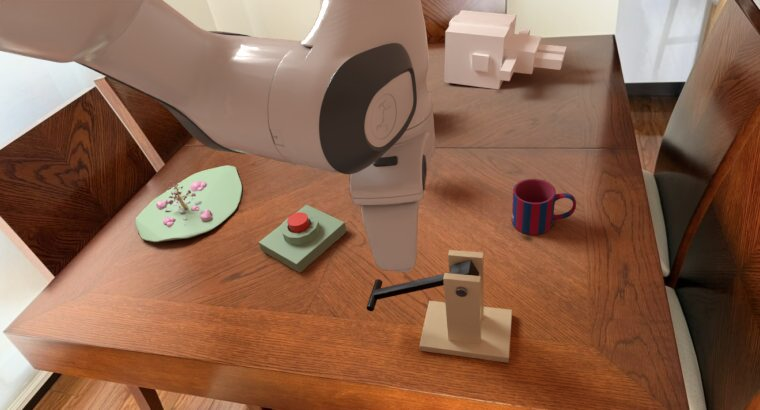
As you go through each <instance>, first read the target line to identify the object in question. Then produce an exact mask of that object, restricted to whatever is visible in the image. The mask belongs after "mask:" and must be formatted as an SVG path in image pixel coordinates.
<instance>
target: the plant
mask: <svg viewBox="0 0 760 410" xmlns="http://www.w3.org/2000/svg"><path fill="white" fill-rule="evenodd" d="M169 183H170V184H173V186H170V185H168V189H167V190H166V191H164V192H163V193H162V194H159V195H158V196H157V197H155V198H154V199H153V200H151V201H150V203H148V204H147V205H146V206H145V207H144V208H143V209H142V210H141V211H140V212H139V214H138V215H137V216H136V217H135V222H134V223H135V224H134V225H135V228H136V230H137V232H138V234H139V236H140V238H141V239H142V240H143V241H145V242H146V241H147V242H151V243H152V242H153V243H161V242H168V241H176V240H183V239H190V238H195V237H198V236H201V235H203V234H205V233H206V234H207V233H209V232H210V231H212V230H214V229H216V228H218V227H219V226H220V225H222V223H224V222H226V220H228V219H229V218H230V217H231V216H232V215H233V214H234V213H235V211H237V209H238V206H239V204H240V202H241V198H242V195H243V194H242V193H243V185H242V181H241V178H240V176H239V173H238V170H237V167H236V166H233V165H227V164H226V165H222V166H217V167H213V168H209V169H208V168H207V169H205V170H201V171H198V172H196V173H193V174H190V175H189V176H188V177H186V178H184V179H183V180H181V181H179V182H178V183H177V184H175V183H173V180H170V181H169Z"/></svg>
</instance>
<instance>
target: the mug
mask: <svg viewBox="0 0 760 410" xmlns="http://www.w3.org/2000/svg"><path fill="white" fill-rule="evenodd" d="M561 199H568V200H571V202H572V205H571V206H572V207H571V208H570V210H568V211H566V212H563V213H560V214H559V213H558V214H555V206H556V202H557V201H558V200H561ZM576 208H577V201H576V198H575V196H574V195H573V194H571V193H565V192H564V193H563V192H562V193H557V191H556V187H554V185H553V184H552V183H551V182H549V181H546V180H544V179H540V178H527V179H523V180H521V181H518V182H517V183H515V184H514V186H513V188H512V204H511V224H512V227H513V228H515V230H516V231H518V232H520V233H522V234H525V235H530V236H537V235H542V234H544V233H546V232H549V230H550V229H551V228H552V227H553V223H554V221H559V220H564V219H567V218H569V217H571V216H572V215H573V214H574V213H575V212H576Z"/></svg>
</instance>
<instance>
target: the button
mask: <svg viewBox="0 0 760 410" xmlns="http://www.w3.org/2000/svg"><path fill="white" fill-rule="evenodd" d="M288 217H289V218H288ZM288 217H287V218H288V220H287V222H288V225H289V228H290V230H291V232H293V233H301V232H303V231H306V230H307V229H308V228H309V226H310V222H309V219H308V216H307V214H305V213H303V212H298V213H296V212H294V213H292V214H291V215H289V216H288Z"/></svg>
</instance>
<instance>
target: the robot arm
mask: <svg viewBox="0 0 760 410" xmlns="http://www.w3.org/2000/svg"><path fill="white" fill-rule="evenodd" d="M319 3H320V4H319V6H320V8H319V12H318V15H317V17H316V20H315V22H314V24H313V26H312V27H311V29H310V31H309V32H308V33H307V35H306V36H305V37H304V38H303V39H302V40H297V39H296V40H295V39H284V38H272V37H261V36H260V37H259V36H251V35H248V34H242V33H236V32H228V31H218V30H205V29H204V28H201V27H200V26H198V25H197V24H195V23H194V22H192V20H189V19H188V18H187V17H186V16H185V15H183V14H182V13H181V12H180V11H178V10H176V9H175V8H174V7H173V6H172V5H170V4H169V3H167V2H166V1H164V0H0V52H3V53H7V54H11V55H15V56H21V57H26V58H31V59H35V60H36V59H37V60H41V61H47V62H52V63H59V64H68V63H76V64H78V65H81V66H83V67H86V69H90V70H91V71H94V72H96V73H98V74H100V75H102V76H105V77H106V78H109V79H111V80H113V81H114V82H116V83H119V84H121V85H124V86H126V87H128V88H130V89H132V90H134V91H136V92H139V93H141V94H143V95H145V96H146V97H149V98H151V99H152V100H154V101H156V102H158V103H159V104H161V106H163V107H164V108H165V109H166V110H167V111H169V112H170V113H171V114H172V115H173V116H174V117H175V118H176V119H177V121H178V122H179V123H180V124H181V125H182V126H183V127H184V128H185V130H186V131H187V132H188V133H189V134H190V135H191V137H193V138H194V139H195V140H196V141H198V142H199V143H200V144H202V145H204V146H205V147H207V148H209V149H211V150H214V151H219V152H226V153H233V154H234V153H235V154H242V155H250V156H255V157H259V158H264V159H267V160H268V159H269V160H273V161H277V162H281V163H286V164H290V165H294V166H301V167H305V168H310V169H315V170H319V171H325V172H328V173H329V172H330V173H335V174H343V175H349V193H350V197H351V201H352V204H353V205H355V206H360V212H361V217H362V224H363V227H364V228H363V229H364V231H365V235H366V238H367V241H368V245H369V248H370V251H371V255H372V258H373V261H374V263H375V266H376V267H377V268H378V269H380V270H381V271H386V272H387V271H388V272H396V273H398V274H399V273H410V272H411V271H412V269H414V268H415V266H416V264H417V257H418V256H417V255H418V231H419V229H418V227H419V208H420V201H423V200H424V198H425V191H426V179H427V173H428V170H429V167H430V164H431V161H432V158H433V156H434V154H435V152H436V148H437V144H436V132H435V118H434V107H433V105H434V104H433V99H432V96H431V93H430V91H429V89H428V85H427V76H428V72H429V65H430V57H429V45H428V36H427V29H426V21H425V16H424V10H423V5H422V0H319Z"/></svg>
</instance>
